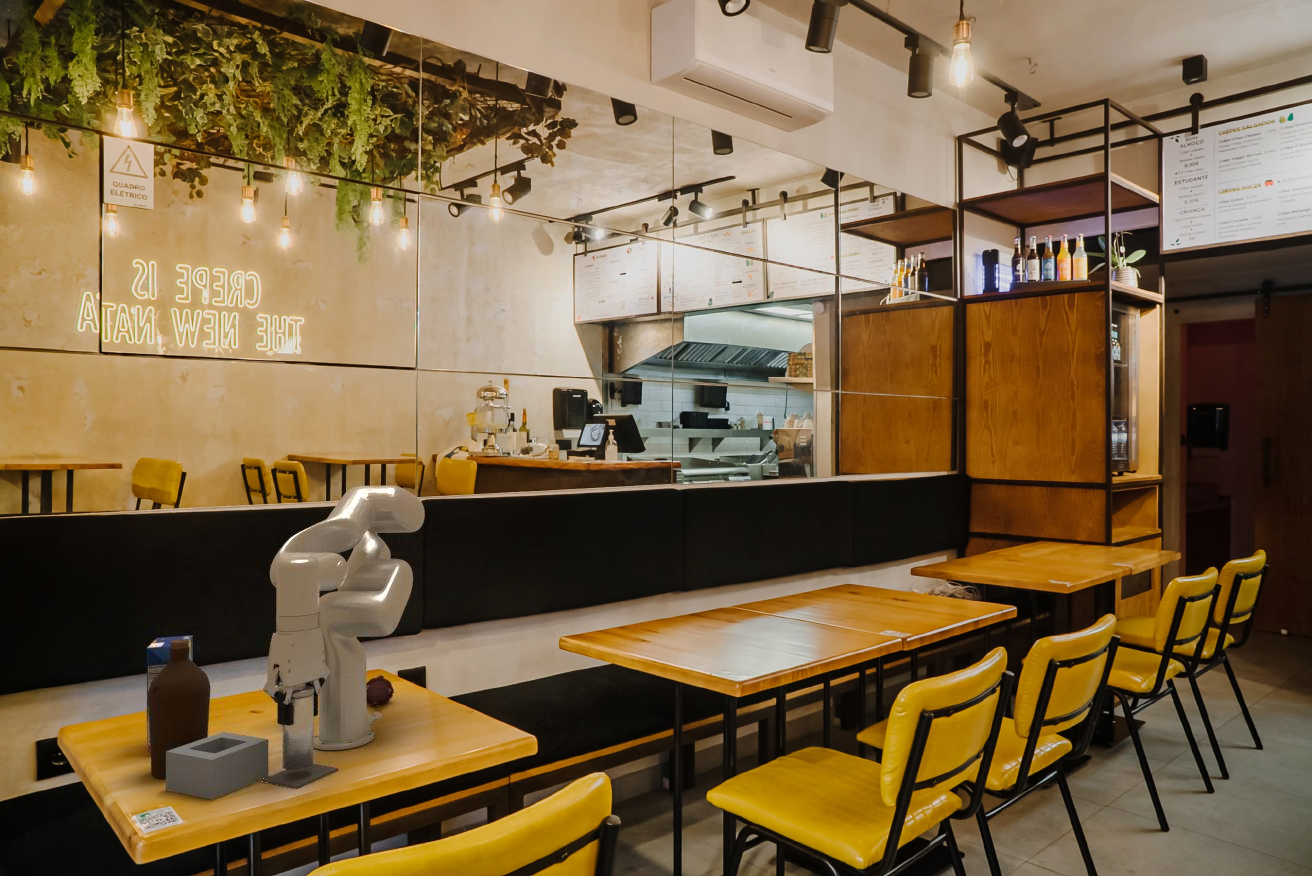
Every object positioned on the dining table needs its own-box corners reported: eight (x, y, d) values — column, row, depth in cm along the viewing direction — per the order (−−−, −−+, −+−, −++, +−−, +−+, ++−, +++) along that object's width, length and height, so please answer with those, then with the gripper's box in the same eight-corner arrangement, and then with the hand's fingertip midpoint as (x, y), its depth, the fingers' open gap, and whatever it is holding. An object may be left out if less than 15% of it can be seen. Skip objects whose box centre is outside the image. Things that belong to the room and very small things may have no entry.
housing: (223, 768, 165) (223, 731, 165) (268, 776, 160) (268, 739, 160) (165, 790, 154) (165, 751, 154) (212, 799, 149) (212, 759, 149)
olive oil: (196, 779, 159) (196, 645, 160) (136, 782, 158) (136, 647, 159) (219, 759, 170) (219, 634, 170) (163, 762, 169) (164, 636, 169)
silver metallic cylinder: (298, 758, 163) (299, 684, 164) (320, 761, 161) (320, 687, 161) (275, 767, 158) (275, 691, 159) (297, 771, 156) (297, 694, 156)
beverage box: (146, 757, 172) (146, 647, 173) (156, 740, 182) (156, 637, 183) (184, 752, 174) (184, 644, 175) (192, 736, 185) (192, 635, 185)
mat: (303, 764, 166) (303, 762, 166) (338, 770, 163) (338, 768, 163) (261, 781, 157) (261, 779, 157) (297, 788, 154) (297, 786, 154)
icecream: (396, 684, 202) (397, 674, 216) (365, 678, 200) (367, 669, 214) (389, 713, 201) (390, 702, 215) (357, 708, 199) (360, 697, 213)
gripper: (318, 614, 170) (318, 705, 169) (245, 630, 154) (245, 730, 153) (346, 616, 167) (346, 709, 166) (275, 632, 151) (275, 735, 150)
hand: (298, 718), depth 160 cm, fingers closed on silver metallic cylinder, 5 cm apart
